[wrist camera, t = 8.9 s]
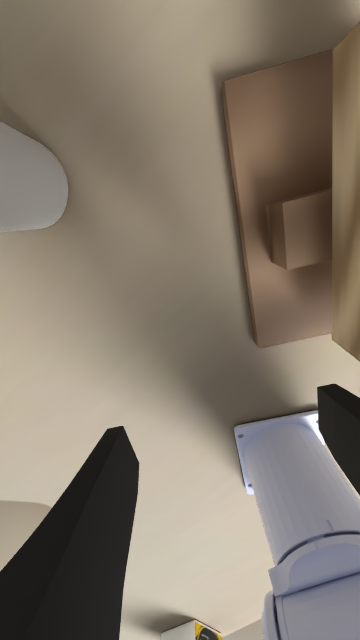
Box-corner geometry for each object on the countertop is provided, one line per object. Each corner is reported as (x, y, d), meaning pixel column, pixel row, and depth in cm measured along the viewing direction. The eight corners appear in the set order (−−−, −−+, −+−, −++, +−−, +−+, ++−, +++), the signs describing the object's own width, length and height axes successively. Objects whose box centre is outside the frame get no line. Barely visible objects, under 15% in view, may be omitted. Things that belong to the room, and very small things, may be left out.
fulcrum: (412, 308, 19) (461, 327, 16) (254, 342, 20) (270, 367, 16) (451, 23, 13) (545, -42, 10) (220, 89, 14) (235, 50, 10)
